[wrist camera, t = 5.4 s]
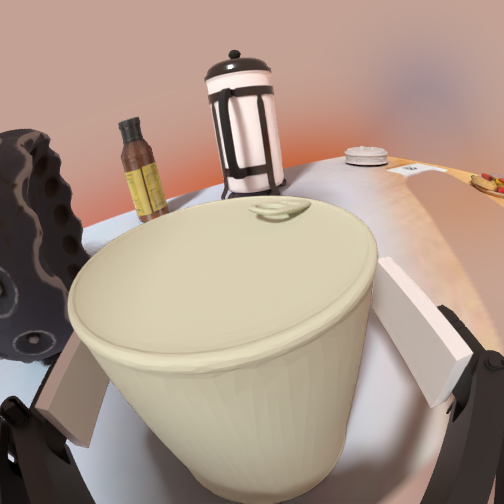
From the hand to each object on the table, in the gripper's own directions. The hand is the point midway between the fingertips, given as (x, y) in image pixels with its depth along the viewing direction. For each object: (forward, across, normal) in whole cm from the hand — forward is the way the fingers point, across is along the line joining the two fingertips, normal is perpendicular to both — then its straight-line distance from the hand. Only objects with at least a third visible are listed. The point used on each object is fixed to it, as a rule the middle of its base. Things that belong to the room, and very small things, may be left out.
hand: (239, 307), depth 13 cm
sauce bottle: (+41, -17, -7) cm, 45 cm away
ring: (+8, -19, -7) cm, 22 cm away
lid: (+64, +36, -7) cm, 74 cm away
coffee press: (+45, +3, -7) cm, 45 cm away
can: (-3, 0, -7) cm, 8 cm away
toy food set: (+31, +56, -8) cm, 64 cm away
